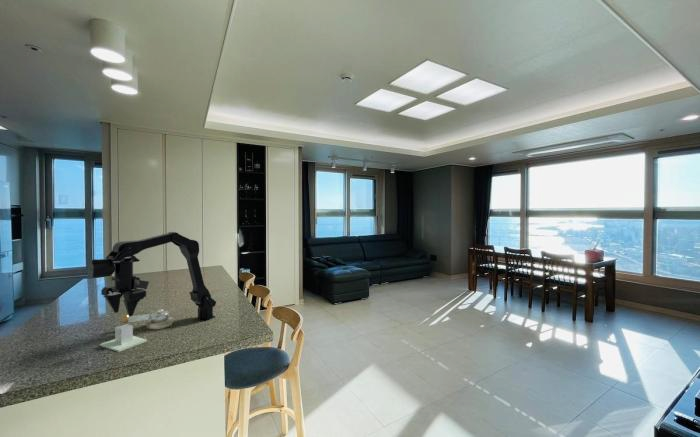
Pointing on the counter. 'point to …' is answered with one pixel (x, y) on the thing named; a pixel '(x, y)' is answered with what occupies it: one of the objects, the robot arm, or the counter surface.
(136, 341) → the mat
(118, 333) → the grey rectangular block
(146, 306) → the counter surface
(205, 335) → the counter surface
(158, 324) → the base
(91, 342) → the counter surface
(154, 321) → the crank handle
